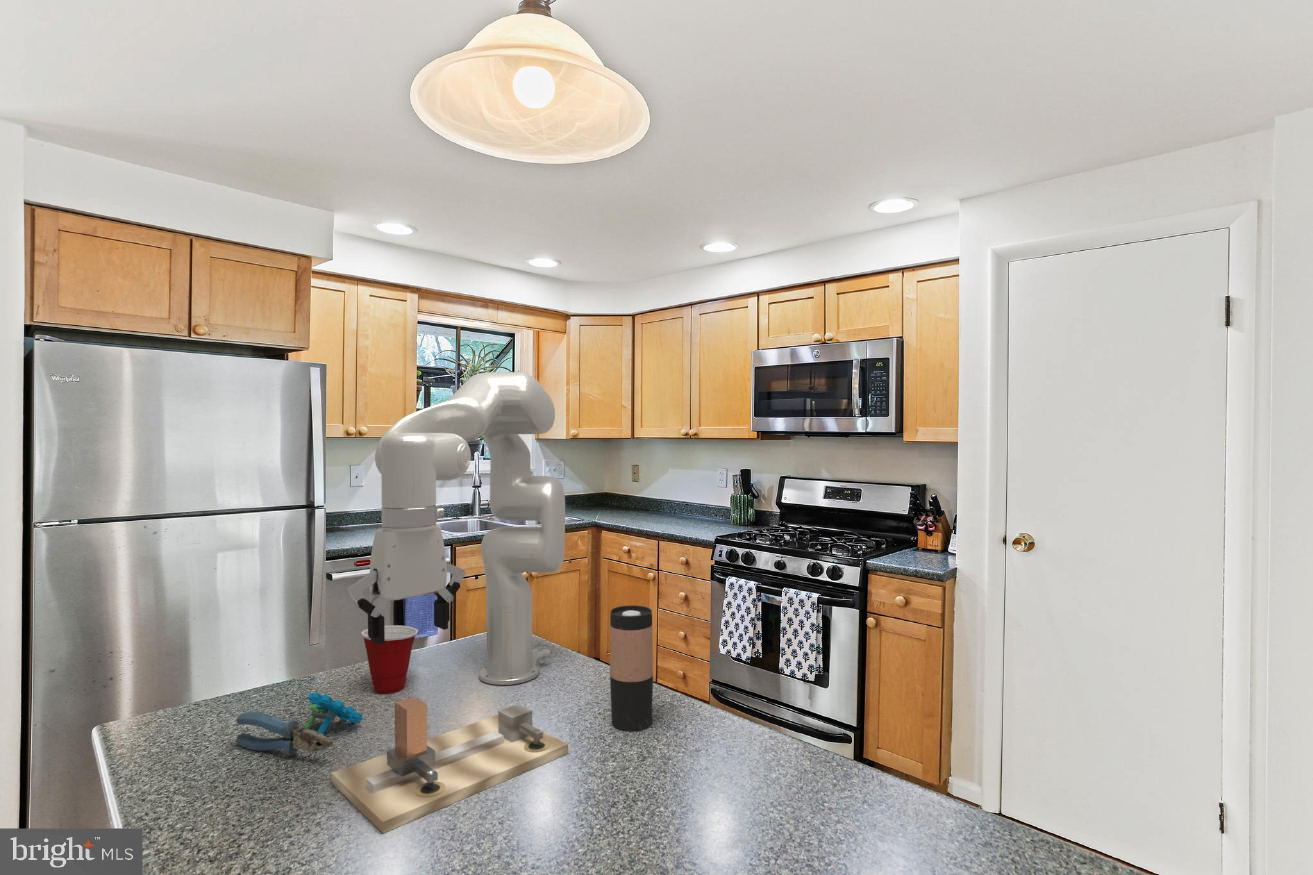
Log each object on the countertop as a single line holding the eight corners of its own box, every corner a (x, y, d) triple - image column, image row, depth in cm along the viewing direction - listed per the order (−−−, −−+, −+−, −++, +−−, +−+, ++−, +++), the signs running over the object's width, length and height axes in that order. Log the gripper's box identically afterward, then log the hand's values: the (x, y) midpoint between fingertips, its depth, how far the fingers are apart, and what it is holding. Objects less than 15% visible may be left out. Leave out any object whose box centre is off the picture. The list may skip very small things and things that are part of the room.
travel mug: (601, 722, 119) (601, 610, 119) (634, 710, 124) (634, 602, 124) (628, 736, 113) (628, 618, 113) (662, 723, 118) (661, 610, 118)
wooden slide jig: (506, 720, 120) (506, 689, 120) (568, 753, 107) (567, 719, 107) (331, 782, 99) (331, 745, 99) (382, 833, 86) (382, 790, 86)
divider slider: (419, 758, 102) (419, 693, 102) (450, 781, 95) (449, 711, 95) (386, 770, 98) (386, 703, 98) (416, 794, 91) (416, 722, 91)
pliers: (335, 762, 105) (335, 724, 105) (324, 768, 103) (324, 730, 103) (245, 741, 112) (245, 706, 112) (233, 747, 110) (233, 711, 110)
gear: (376, 718, 117) (334, 690, 112) (356, 752, 114) (312, 725, 108) (339, 712, 123) (298, 686, 118) (319, 745, 119) (276, 719, 114)
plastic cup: (427, 688, 135) (427, 629, 135) (373, 703, 128) (373, 641, 128) (405, 674, 143) (405, 619, 143) (353, 688, 136) (353, 629, 136)
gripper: (451, 511, 107) (451, 618, 107) (338, 522, 94) (339, 642, 95) (475, 515, 101) (476, 627, 102) (359, 527, 89) (360, 655, 89)
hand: (410, 634), depth 98 cm, fingers open, 9 cm apart
